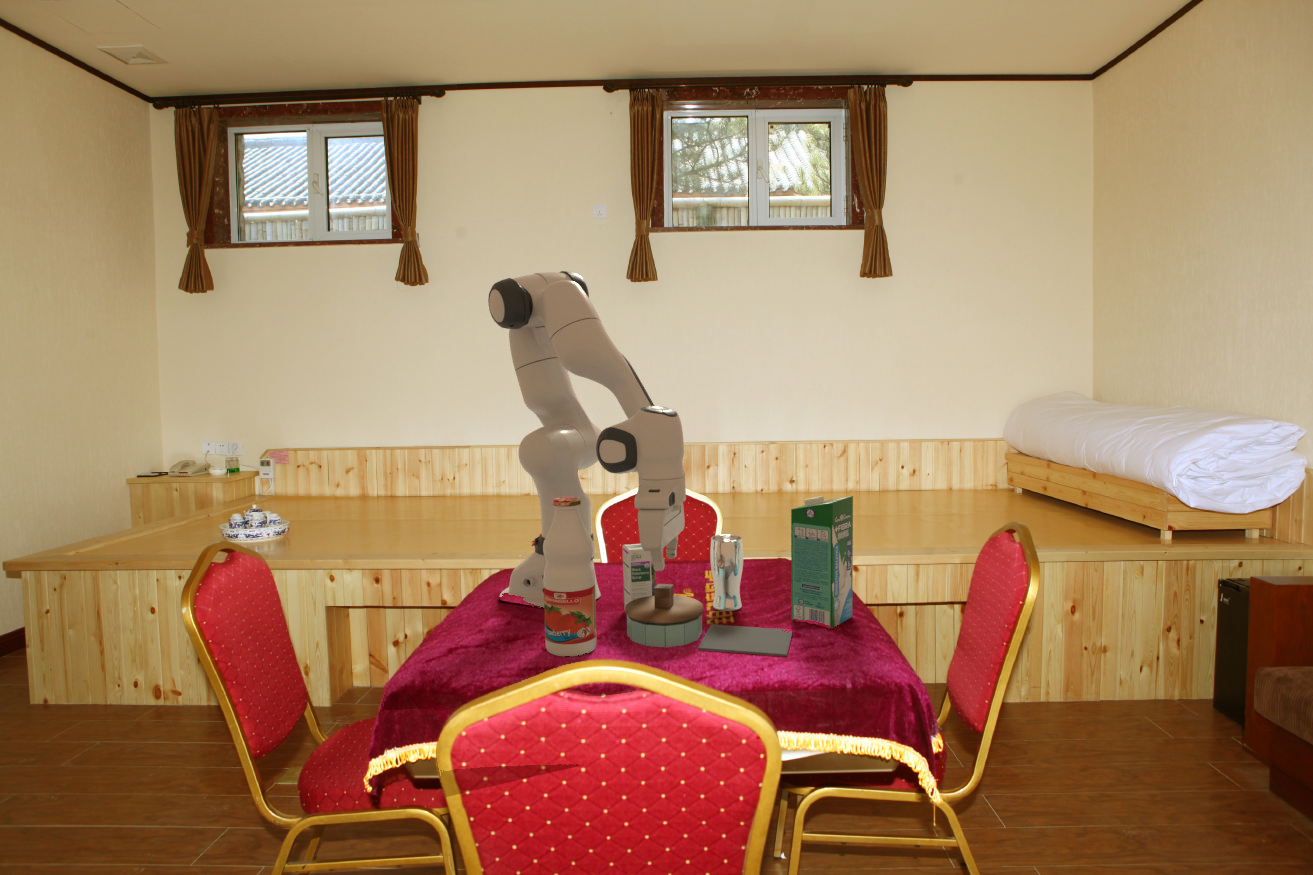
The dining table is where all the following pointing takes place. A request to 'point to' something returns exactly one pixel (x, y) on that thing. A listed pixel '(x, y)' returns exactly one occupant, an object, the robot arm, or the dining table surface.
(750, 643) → the mat
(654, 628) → the bowl
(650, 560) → the syrup box
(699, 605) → the lid
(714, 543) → the chrome tumbler
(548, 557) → the fruit juice
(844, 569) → the milk carton
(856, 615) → the dining table surface
